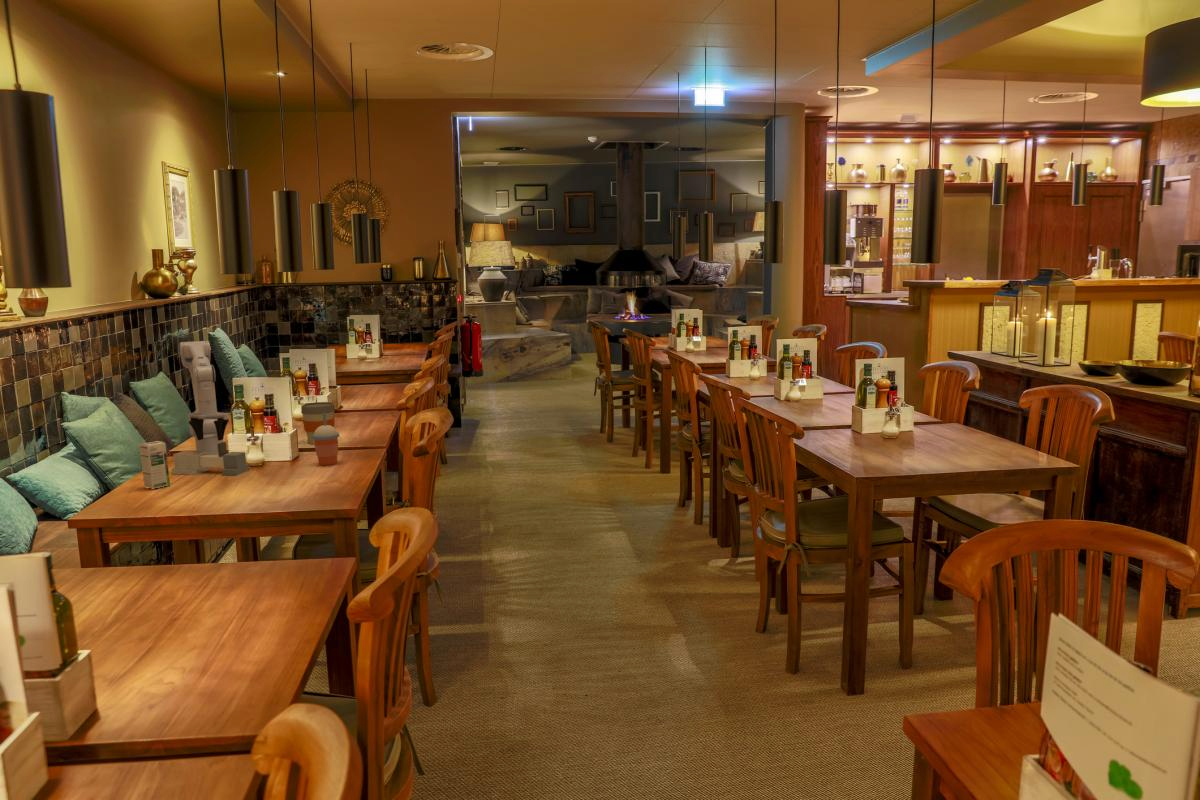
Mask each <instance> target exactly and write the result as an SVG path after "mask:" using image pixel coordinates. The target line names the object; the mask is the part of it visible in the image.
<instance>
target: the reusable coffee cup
mask: <svg viewBox="0 0 1200 800" xmlns="http://www.w3.org/2000/svg"><path fill="white" fill-rule="evenodd" d="M300 409H301V411H300V413H301V414H302V425H303V428H304V432H305V433H306V437H307V441H308V442H307V444H308V445H313V444H315V440H314V439H313V438H312V435H313V434H314V432H315V430H316V429H317V428H318V427H320V426H322V425H324V422H323V413H326V425H330V426H332V427H334V428H335V421H336V420H335V409H336V408H335V403H333V402H329V401H328V402H327V401H322V402H321V401H320V402H311V403H310V402H309V403H305V404H302V405H301V407H300Z"/></svg>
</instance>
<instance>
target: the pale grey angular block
mask: <svg viewBox="0 0 1200 800" xmlns="http://www.w3.org/2000/svg"><path fill="white" fill-rule="evenodd" d="M227 453H228V449H227V442H226V441H223V442H222V443H219V444H218V455H200V456H199V466H200V467H211V468H224V462H223V455H225V454H227Z"/></svg>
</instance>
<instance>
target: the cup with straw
mask: <svg viewBox="0 0 1200 800" xmlns="http://www.w3.org/2000/svg"><path fill="white" fill-rule="evenodd" d="M323 422H324V425H322V426H320V427H318V428H317V429H316V430H315V432H314V434H313V435H312V438H313V439H314V440H315V445H314V448H315V453H316V457H317V461H318V465H319V466H325V467H326V466H333V465H334V466H335V465H337V463H338V454H339V441H338V440H339V438H340V433H339V431H337V429H336V428H335V426H334V427H332V426H330V425H326V413H323Z"/></svg>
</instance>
